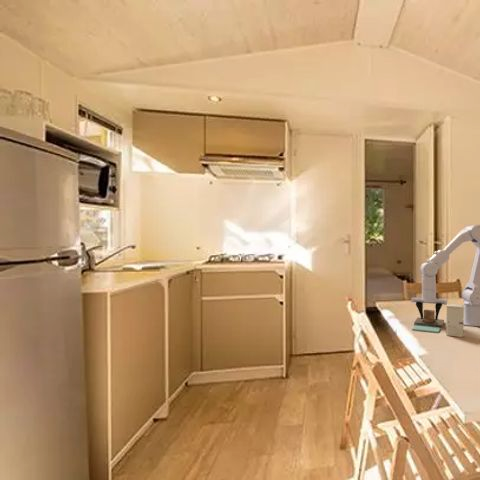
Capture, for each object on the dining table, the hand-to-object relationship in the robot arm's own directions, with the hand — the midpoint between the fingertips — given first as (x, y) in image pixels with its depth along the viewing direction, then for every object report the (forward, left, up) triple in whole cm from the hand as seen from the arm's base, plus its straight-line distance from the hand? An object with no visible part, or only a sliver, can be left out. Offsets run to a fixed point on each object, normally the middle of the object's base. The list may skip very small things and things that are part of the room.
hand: (429, 319), depth 173 cm
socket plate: (0, 0, -2) cm, 2 cm away
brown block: (0, 0, -2) cm, 2 cm away
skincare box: (-11, +16, -2) cm, 20 cm away
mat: (0, +12, -2) cm, 12 cm away
